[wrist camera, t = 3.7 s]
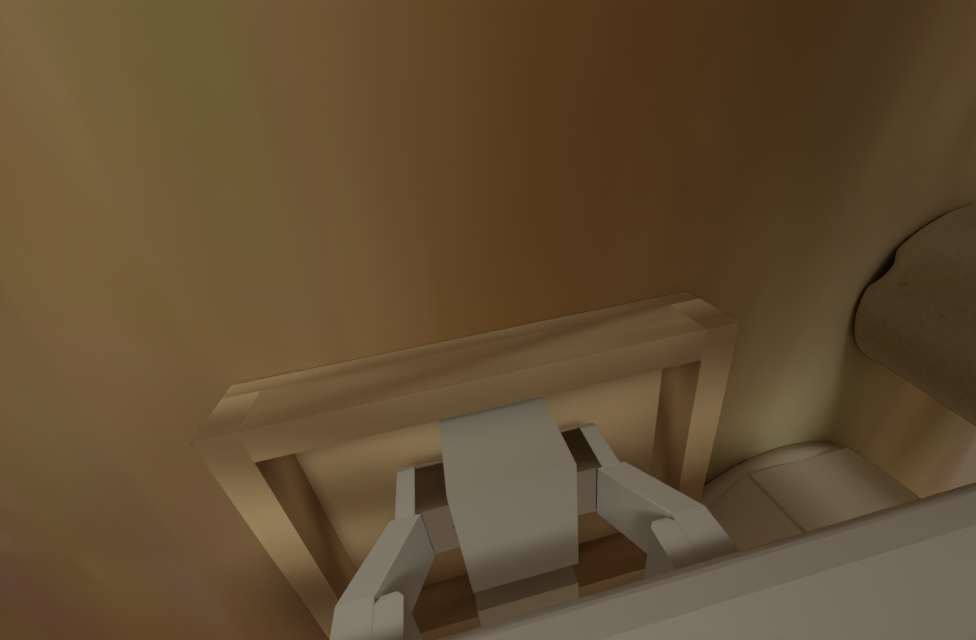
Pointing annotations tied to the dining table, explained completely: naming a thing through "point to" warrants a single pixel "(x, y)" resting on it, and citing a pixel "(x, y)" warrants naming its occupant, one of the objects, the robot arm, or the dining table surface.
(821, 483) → the bowl
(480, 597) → the block
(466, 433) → the tall grey rectangular block
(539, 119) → the dining table surface
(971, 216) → the flower pot
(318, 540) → the tray
